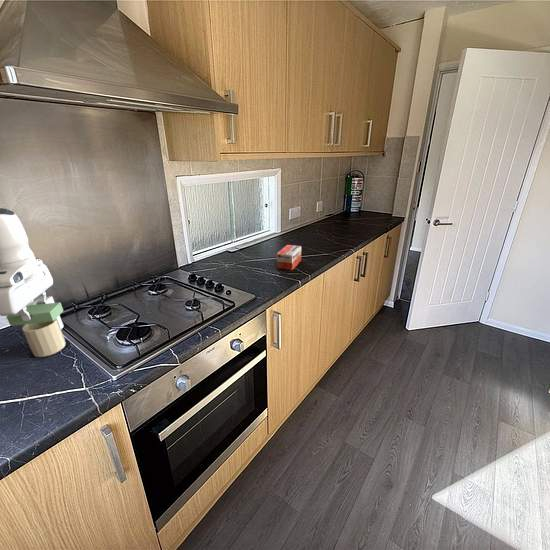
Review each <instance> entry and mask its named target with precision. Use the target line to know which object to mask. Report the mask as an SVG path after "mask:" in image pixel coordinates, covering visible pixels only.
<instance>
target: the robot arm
mask: <svg viewBox="0 0 550 550" xmlns="http://www.w3.org/2000/svg"><path fill="white" fill-rule="evenodd" d="M53 285H54V279H53V276H52V273H51V272H50V270H49V268H48V266H47V265H46V264H45V263H44V261H43V260H42V259H40V258H37V257H36V255H35V253H34V252H33V250H32V249H31V247H30V244H29V237H28V236H27V233H26V230H25V227H24V226H23V223H22V222H21V220H20V218H19V217H18V215H17V214H16V213H15V212H14V211H13V210H10V209H7V208H3V207H0V316H1V317H7V316H9V315H15V314H16V313H17V314H18V315H20V316H21V317H22V320H23V321H29V320H30V319H31V318H32V317H33V316H32V313H31V312H30V313H28V312H27V311H26V309H27V308H26V306H28V305H30V304H31V303H32V302H34V301H35V300H36V299H37V301H38V302H37V303H36V304H37V305H38V304H47V303H46V301H45V300H46V297H47V293H46V291H47V290H48V289H49V288H51V287H52V286H53Z"/></svg>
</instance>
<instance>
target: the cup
mask: <svg viewBox="0 0 550 550" xmlns="http://www.w3.org/2000/svg"><path fill="white" fill-rule="evenodd" d="M21 330H22V333H23V335H24V337H25V340H26V342H27V345H28V346H29V349H30V352H31V353H32V355H33V356H34V357H36V358H44V357H48V356H52V355H54V354H57V353H58V352H60V351H62V350H63V349H64V348H65V347H66V346H67V345H66V344H67V343H66V342H67V341H66V339H65V337H64V333H63V331H62V329H61V328H60V325H59V323H58V320H57V318H56V319H55V320H54V321H51V322H42V323H32V324H23V326H22V327H21Z"/></svg>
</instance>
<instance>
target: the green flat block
mask: <svg viewBox="0 0 550 550" xmlns="http://www.w3.org/2000/svg"><path fill="white" fill-rule="evenodd" d="M26 308H27V309H26V311H27V312H28V313H30V312H31V313H32V316H33V317H32V318H31V319H30V320H29V321H23V320H22V317H21V316H20V315H18V314H17V313H16V314H15V315H9V316H6V319H7V322H8V324H9V326H10V327H12V326H13V327H14V326H21V325H23V326H24V325H25V324H32V323H42V322H51V321H54V320H55V319H56V318H57V317H58V316H59V315H60V316H61V314H62V313H63V312H64V308H63V306H62V303H61V301H58V302H55V303H48V304H38V305H30V304H28V305H26Z"/></svg>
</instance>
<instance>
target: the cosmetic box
mask: <svg viewBox="0 0 550 550" xmlns="http://www.w3.org/2000/svg"><path fill="white" fill-rule="evenodd" d="M45 301H46V303H47V304H48V303H56V302H55V299H54V297H53V296H46V300H45ZM37 302H38V301H37V298H35V299H34V300H33V301H32V302H30V303H29V305H37V304H36V303H37ZM57 320H58V323H59V325H60V328H61V330H63V328H64V327H65V326H64V322H63V321H62V318H61V314H60V315H59V316H58V317H57Z"/></svg>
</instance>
